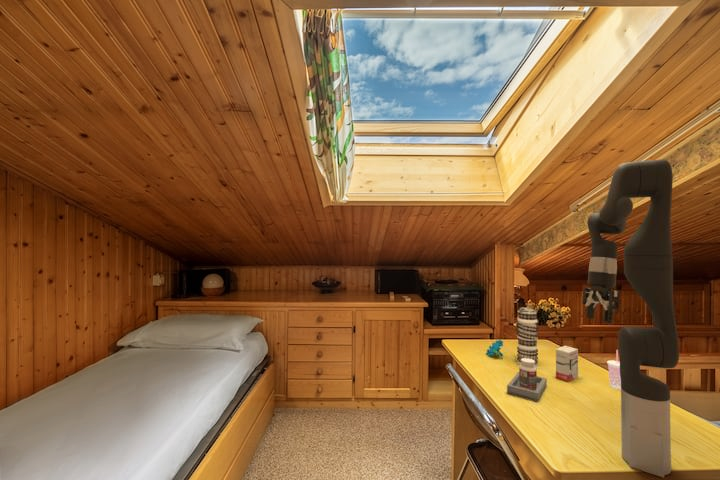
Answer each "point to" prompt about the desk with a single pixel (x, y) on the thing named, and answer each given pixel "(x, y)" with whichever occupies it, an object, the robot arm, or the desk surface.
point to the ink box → (566, 363)
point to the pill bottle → (528, 374)
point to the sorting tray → (533, 395)
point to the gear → (495, 349)
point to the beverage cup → (614, 373)
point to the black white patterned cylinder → (527, 335)
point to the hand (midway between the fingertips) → (598, 320)
